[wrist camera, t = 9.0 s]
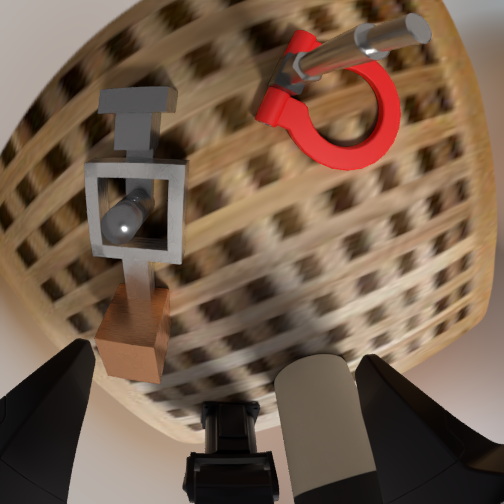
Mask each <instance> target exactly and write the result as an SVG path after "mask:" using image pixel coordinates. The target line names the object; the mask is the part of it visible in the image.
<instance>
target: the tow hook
mask: <svg viewBox="0 0 504 504" xmlns="http://www.w3.org/2000/svg"><path fill="white" fill-rule="evenodd" d="M431 37H432V33H431V29H430V26H429V24H428V23H427V22H426V20H425V19H424V18H423V17H421V16H420V15H418V14H415V13H410V14H407V15H404V16H401V17H398V18H395V19H392V20H389V21H387V22H384V23H382V24H379V25H374V24H370V23H364V24H360V25H358V26H356V27H354V28H352V29H350V30H348V31H346V32H344V33H342V34H340V35H338V36H336V37H334V38H333V39H331V40H329V41H327V42H325V43H323V44H322V43H320V42H318V41H316V37H315V36H314V35H312V34H311V33H309V32H306V31H303V30H296V31H295V33H294V35H293V37H292V39H291V41H290V43H289V45H288V47H287V49H286V51H285V53H284V55H283V57H282V58H281V59H280V60H279V62H278V64H277V66H276V69H275V71H274V73H273V75H272V77H271V79H270V82H269V84H268V87H269V88H268V90H267V92H266V94H265V96H264V99H263V101H262V103H261V105H260V108H259V110H258V112H257V114H256V117H255V120H257V121H258V122H260V123H263V124H265V125H268V126H270V127H277V125H278V126H280V127H282V128H285V129H287V130H288V133H289V135H290V137H291V138H292V140H293V141H294V142H295V143H296V145H297V146H298V147H299V149H300V150H301V151H302V152H304V153H305V154H306V155H308V156H309V157H310V158H311V159H313V160H314V161H316V162H318V163H320V164H323V165H325V166H327V167H330V168H332V169H339V170H347V171H348V170H355V169H362V168H364V167H366V166H368V165H371V164H373V163H375V162H376V161H377V160H379V159H380V158H381V157H382V156H383V155H385V154H386V152H387V151H388V150H389V148H390V147H391V145H392V144H393V143H394V140H395V138H396V135H397V132H398V130H399V124H400V117H401V111H400V101H399V97H398V94H397V91H396V88H395V85H394V83H393V82H392V80H391V78H390V77H389V75H388V74H387V72H386V71H385V70H384V68H383V67H382V66H381V65H380V64H379V63H377V62H376V61H378V60H382V59H384V58H386V57H387V56H388V54H389V52H390V50H394V49H399V48H404V47H409V46H414V45H420V44H426V43H428V42H430V40H431ZM341 69H347V70H351V71H353V72H355V73H357V74H359V75H360V76H362V77H363V78H364V79H365V80H366V81H367V82H368V83H369V84H370V86H371V87H372V89H373V90H374V92H375V95H376V97H377V100H378V106H379V116H378V122H377V124H376V127H375V129H374V131H373V132H372V134H371V135H370V136H369V137H368V138H367V139H366V140H364V141H363V142H362V143H360V144H357V145H355V146H350V147H340V146H335V145H333V144H331V143H329V142H327V141H326V140H325V139H324V138H323V137H321V136H320V135H319V133H318V132H317V131H316V129H315V128H314V127H313V124H312V122H311V120H310V117H309V113H308V107H307V106H306V105H305V104H304V103H302V102H300V101H298V100H296V99H294V98H292V97H290V96H294V95H299V94H301V93H302V90H303V88H304V86H305V84H307V83H312V82H315V81H319V80H320V79H321V77H322V75H323V74H327V73H330V72H333V71H337V70H341Z"/></svg>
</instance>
